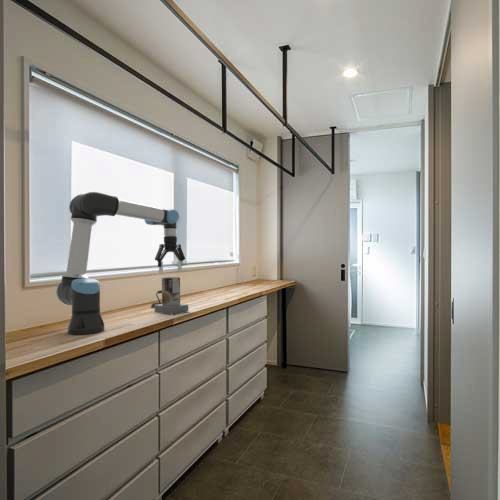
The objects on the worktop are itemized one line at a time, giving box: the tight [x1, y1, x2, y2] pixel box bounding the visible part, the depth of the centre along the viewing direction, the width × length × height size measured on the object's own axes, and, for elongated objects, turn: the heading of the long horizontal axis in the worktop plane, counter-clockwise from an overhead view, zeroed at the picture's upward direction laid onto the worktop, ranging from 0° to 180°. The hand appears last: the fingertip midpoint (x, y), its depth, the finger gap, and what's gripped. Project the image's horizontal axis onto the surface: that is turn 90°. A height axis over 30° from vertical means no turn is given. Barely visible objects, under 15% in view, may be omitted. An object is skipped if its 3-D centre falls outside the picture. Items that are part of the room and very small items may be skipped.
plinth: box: [154, 303, 189, 315], centre depth 216 cm, size 12×16×4 cm
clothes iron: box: [150, 289, 162, 309], centre depth 237 cm, size 14×10×11 cm
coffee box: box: [161, 276, 181, 306], centre depth 216 cm, size 9×6×16 cm
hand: (170, 272), depth 215 cm, fingers open, 13 cm apart
